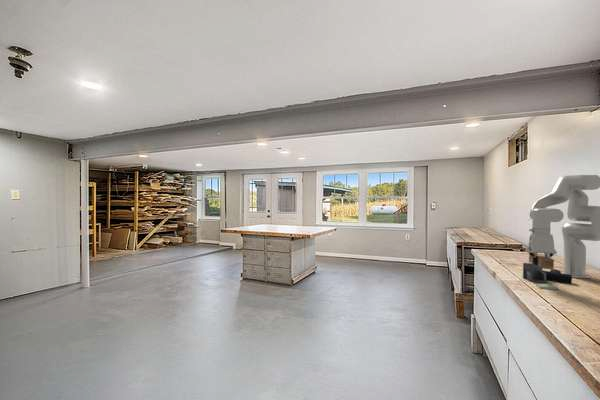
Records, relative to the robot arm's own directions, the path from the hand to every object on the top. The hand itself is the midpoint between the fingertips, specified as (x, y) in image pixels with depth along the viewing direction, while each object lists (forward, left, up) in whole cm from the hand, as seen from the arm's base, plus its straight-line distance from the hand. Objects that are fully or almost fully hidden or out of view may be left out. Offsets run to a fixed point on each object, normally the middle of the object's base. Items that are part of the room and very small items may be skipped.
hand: (540, 264), depth 154 cm
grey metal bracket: (-7, 0, -11) cm, 13 cm away
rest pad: (+7, 0, -11) cm, 13 cm away
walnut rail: (0, 0, 0) cm, 0 cm away
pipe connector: (-13, +12, -11) cm, 21 cm away
